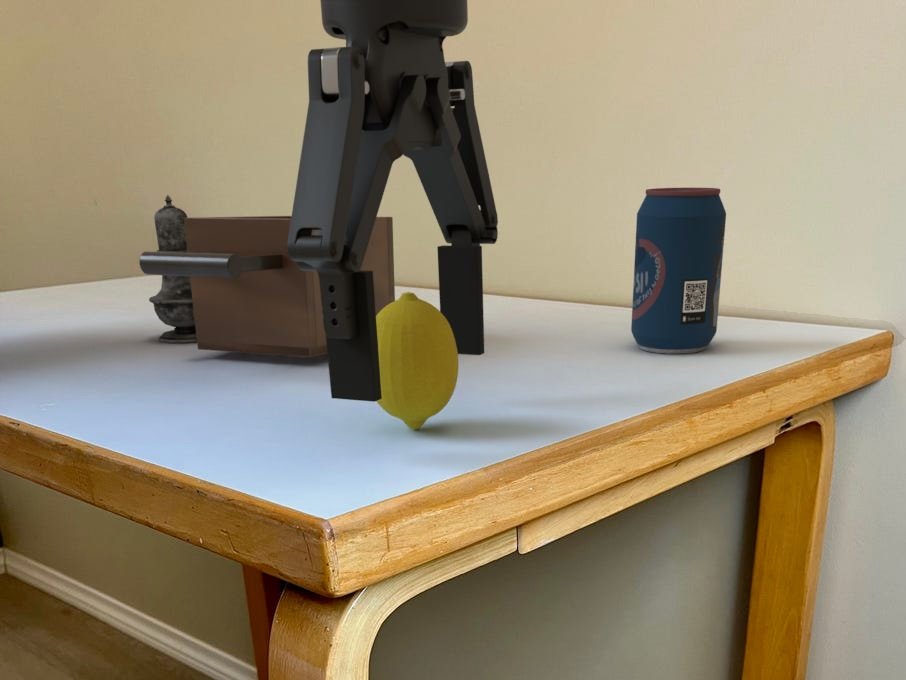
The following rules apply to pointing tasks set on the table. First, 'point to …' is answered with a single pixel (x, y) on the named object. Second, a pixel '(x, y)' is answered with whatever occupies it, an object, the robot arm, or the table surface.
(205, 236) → the wooden handled box
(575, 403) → the table surface
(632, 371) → the table surface
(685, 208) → the soda can
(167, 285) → the salt shaker
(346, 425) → the table surface
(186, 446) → the table surface
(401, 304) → the lemon
